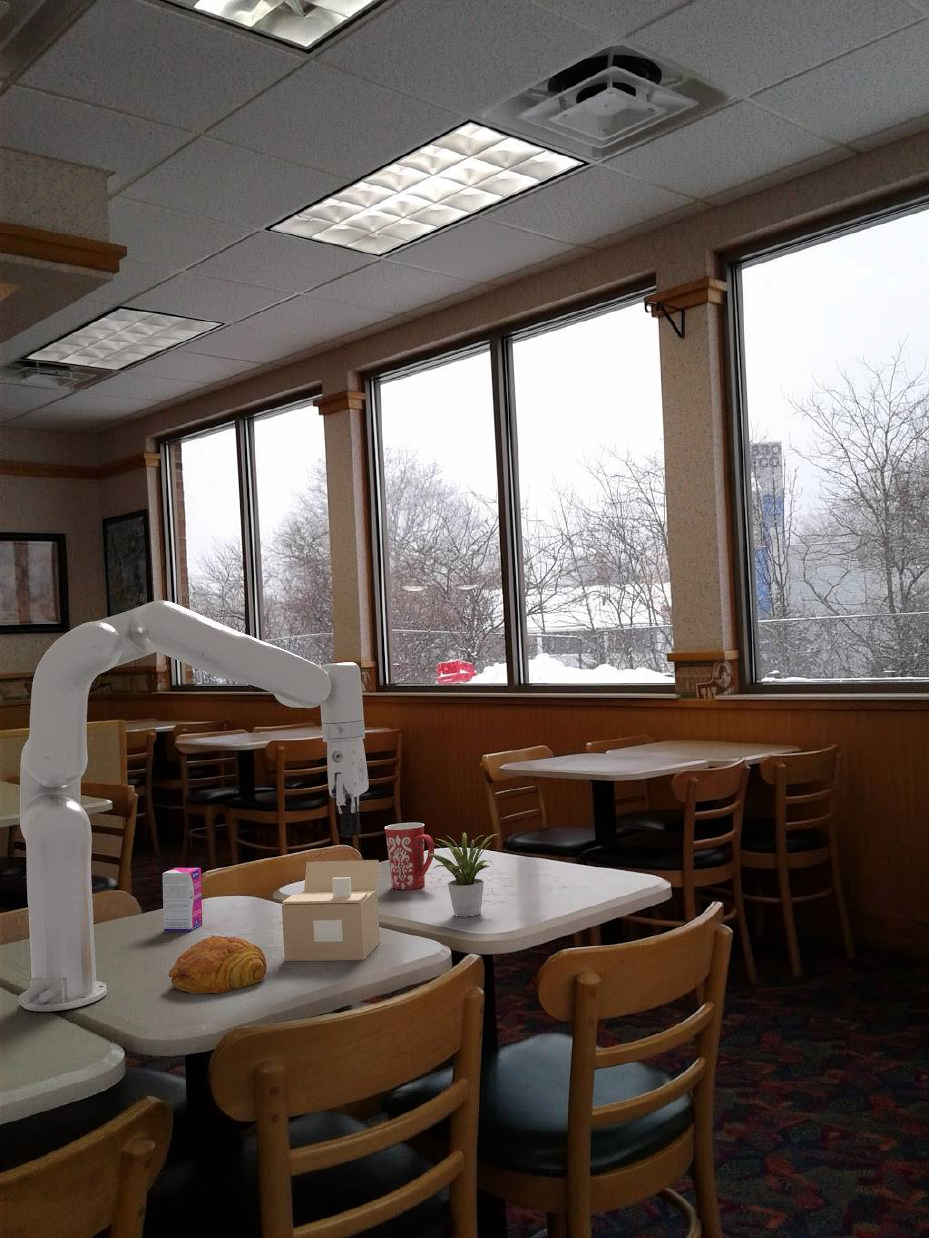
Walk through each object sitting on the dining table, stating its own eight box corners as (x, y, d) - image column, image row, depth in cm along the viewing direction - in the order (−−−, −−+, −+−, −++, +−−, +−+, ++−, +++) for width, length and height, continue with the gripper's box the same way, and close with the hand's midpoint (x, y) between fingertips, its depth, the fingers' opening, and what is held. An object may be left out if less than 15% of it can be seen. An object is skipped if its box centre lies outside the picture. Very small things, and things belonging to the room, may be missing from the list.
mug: (379, 888, 242) (375, 827, 242) (408, 880, 248) (405, 821, 249) (418, 894, 233) (414, 831, 234) (448, 886, 240) (444, 824, 240)
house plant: (482, 900, 224) (477, 820, 224) (521, 911, 212) (516, 827, 213) (422, 912, 216) (417, 830, 217) (459, 925, 205) (454, 837, 205)
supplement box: (191, 932, 212) (188, 872, 212) (163, 932, 213) (160, 873, 213) (204, 924, 217) (201, 866, 218) (176, 924, 218) (173, 867, 219)
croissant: (225, 977, 187) (220, 930, 188) (284, 978, 177) (278, 927, 178) (152, 999, 176) (147, 948, 177) (210, 1000, 166) (204, 946, 167)
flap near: (292, 897, 192) (291, 876, 192) (367, 895, 190) (366, 874, 190) (282, 904, 187) (281, 882, 187) (359, 902, 185) (357, 881, 185)
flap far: (378, 859, 199) (383, 864, 202) (306, 861, 201) (312, 866, 204) (376, 888, 196) (381, 893, 199) (304, 890, 198) (310, 894, 202)
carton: (363, 960, 184) (360, 903, 185) (284, 960, 187) (281, 904, 187) (379, 942, 195) (376, 889, 196) (304, 943, 198) (302, 890, 198)
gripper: (352, 734, 187) (360, 841, 186) (374, 727, 202) (381, 826, 201) (310, 737, 188) (317, 843, 188) (335, 729, 203) (342, 828, 202)
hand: (350, 834), depth 194 cm, fingers closed
